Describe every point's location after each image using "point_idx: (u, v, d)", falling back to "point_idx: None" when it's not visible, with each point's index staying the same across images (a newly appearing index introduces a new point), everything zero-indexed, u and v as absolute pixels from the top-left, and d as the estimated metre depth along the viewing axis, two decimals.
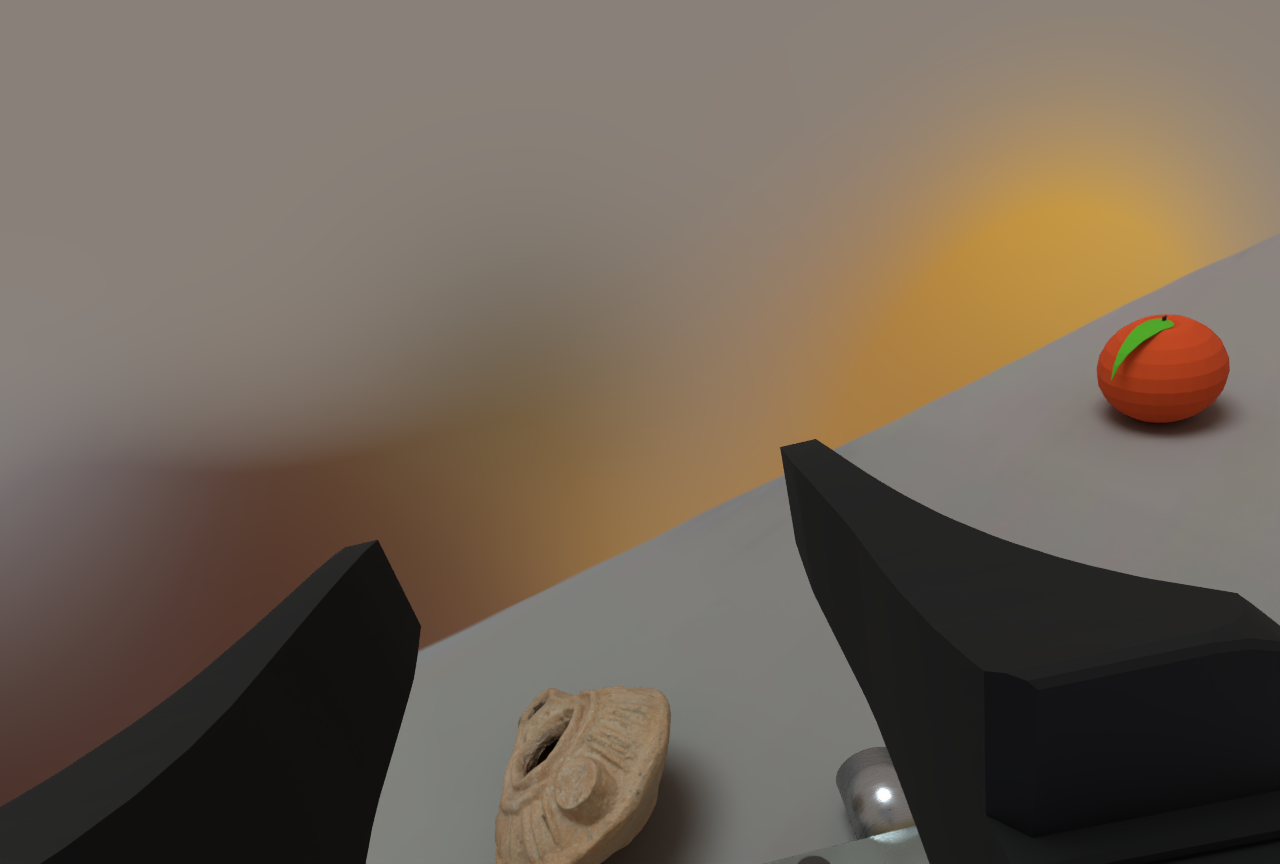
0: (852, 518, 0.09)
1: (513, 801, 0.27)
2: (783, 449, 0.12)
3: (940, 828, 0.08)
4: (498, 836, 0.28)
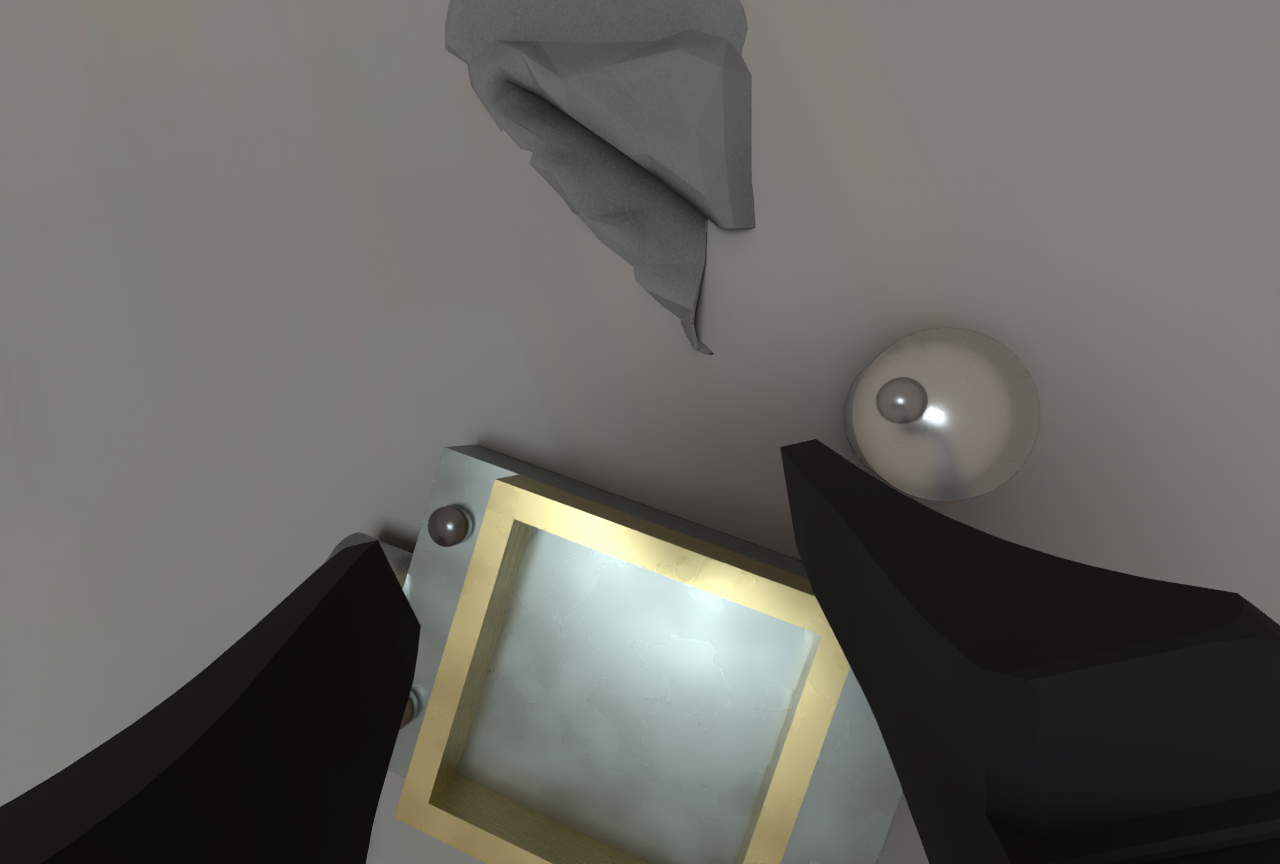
0: (852, 518, 0.09)
1: None
2: (783, 449, 0.12)
3: (940, 828, 0.08)
4: None
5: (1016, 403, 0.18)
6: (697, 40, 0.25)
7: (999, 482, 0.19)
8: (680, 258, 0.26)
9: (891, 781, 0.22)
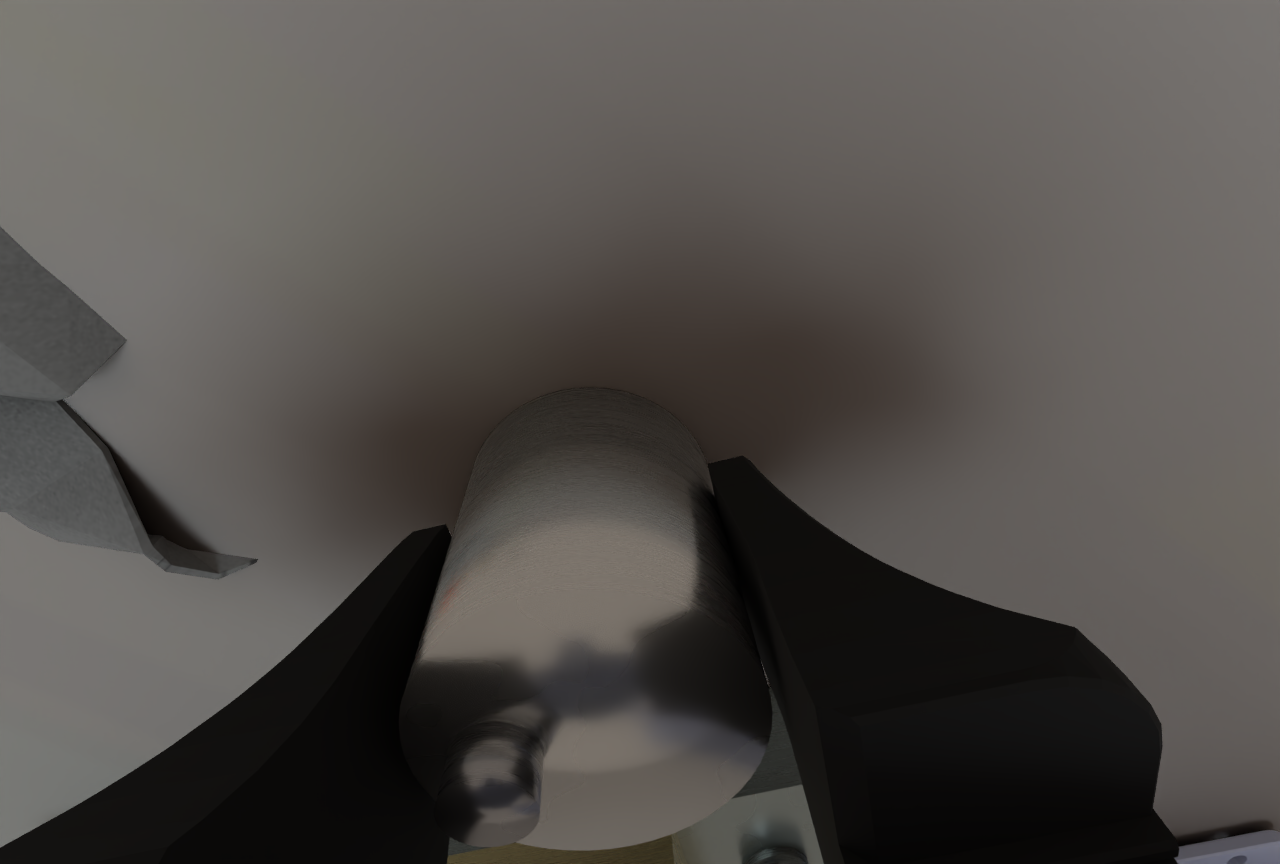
0: (754, 540, 0.09)
1: None
2: (709, 466, 0.12)
3: (826, 850, 0.08)
4: None
5: (697, 663, 0.08)
6: None
7: (749, 768, 0.09)
8: (56, 465, 0.13)
9: None
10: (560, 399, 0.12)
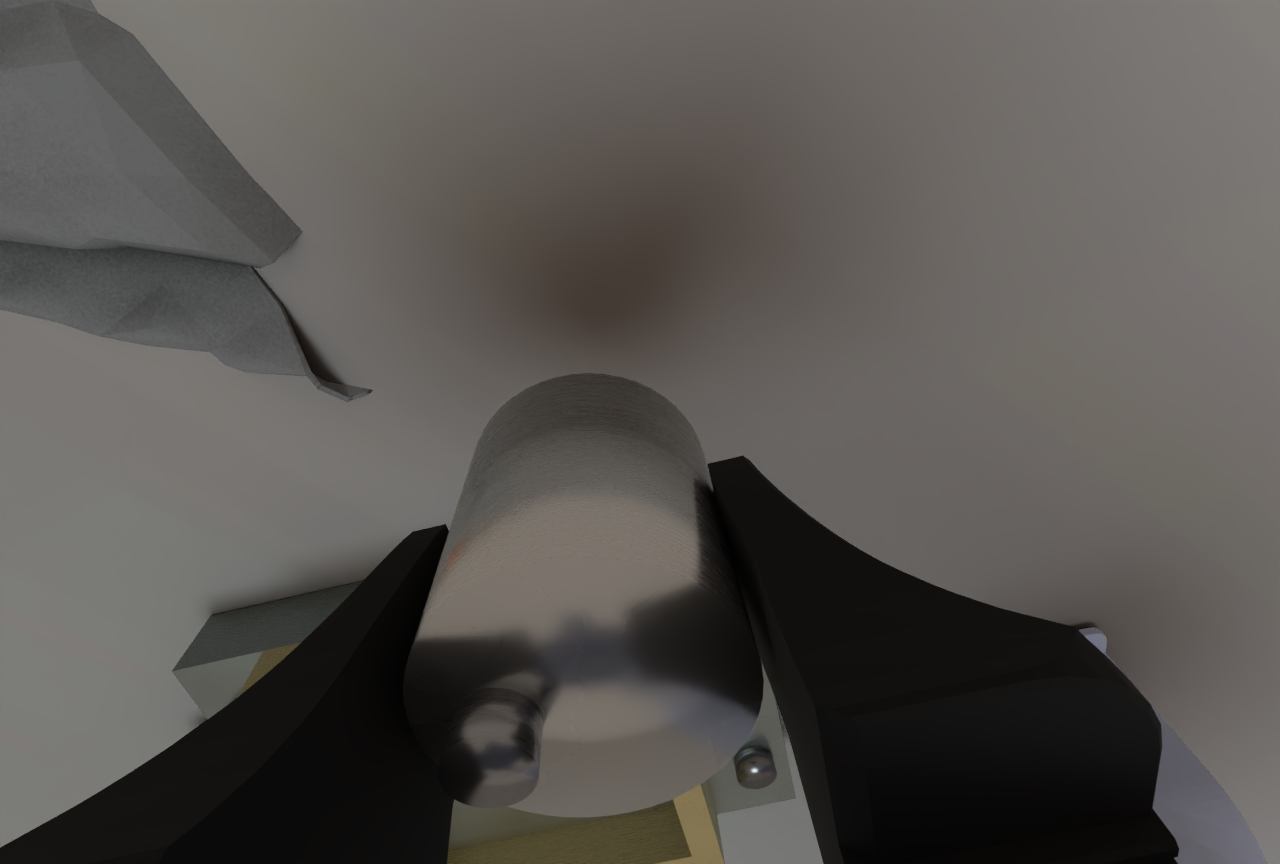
0: (754, 540, 0.09)
1: None
2: (709, 466, 0.12)
3: (826, 850, 0.08)
4: None
5: (690, 630, 0.09)
6: (15, 31, 0.16)
7: (742, 736, 0.10)
8: (250, 317, 0.19)
9: None
10: (558, 384, 0.13)
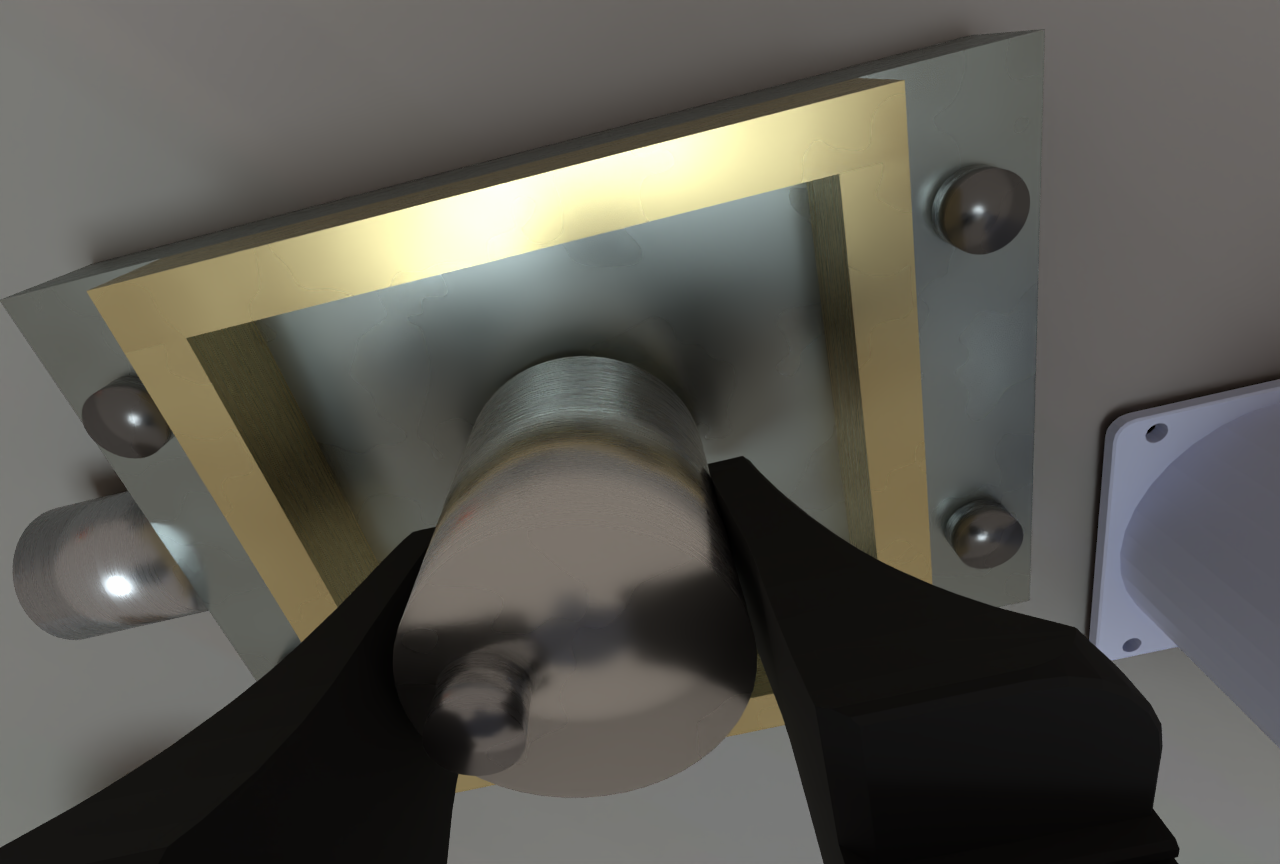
0: (754, 540, 0.09)
1: None
2: (708, 466, 0.12)
3: (826, 850, 0.08)
4: None
5: (692, 612, 0.09)
6: None
7: (727, 726, 0.10)
8: None
9: (1015, 333, 0.14)
10: (569, 363, 0.13)
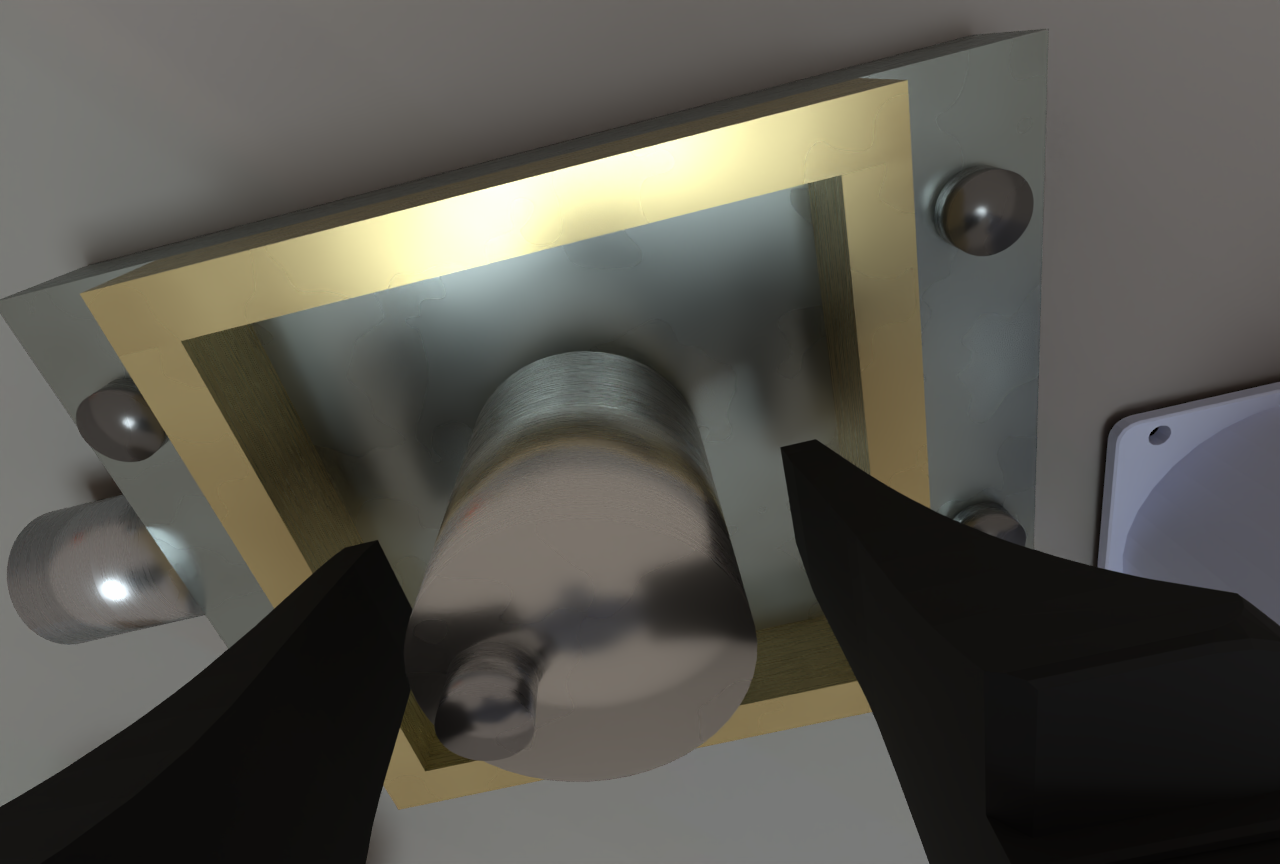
0: (852, 518, 0.09)
1: None
2: (783, 449, 0.12)
3: (940, 828, 0.08)
4: None
5: (694, 602, 0.09)
6: None
7: (728, 712, 0.10)
8: None
9: (1018, 335, 0.14)
10: (570, 358, 0.13)
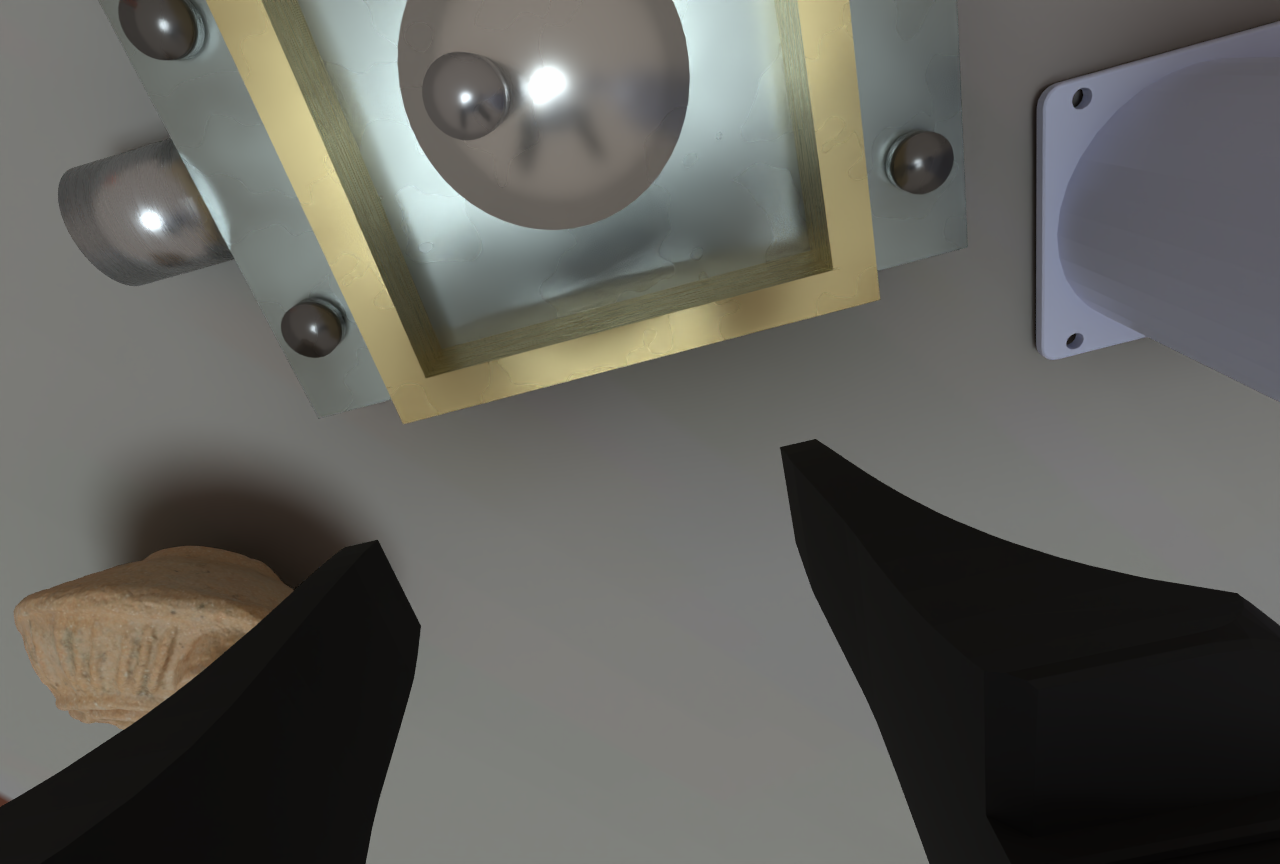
0: (852, 518, 0.09)
1: None
2: (783, 449, 0.12)
3: (940, 828, 0.08)
4: None
5: (634, 8, 0.11)
6: None
7: (670, 147, 0.12)
8: None
9: None
10: None
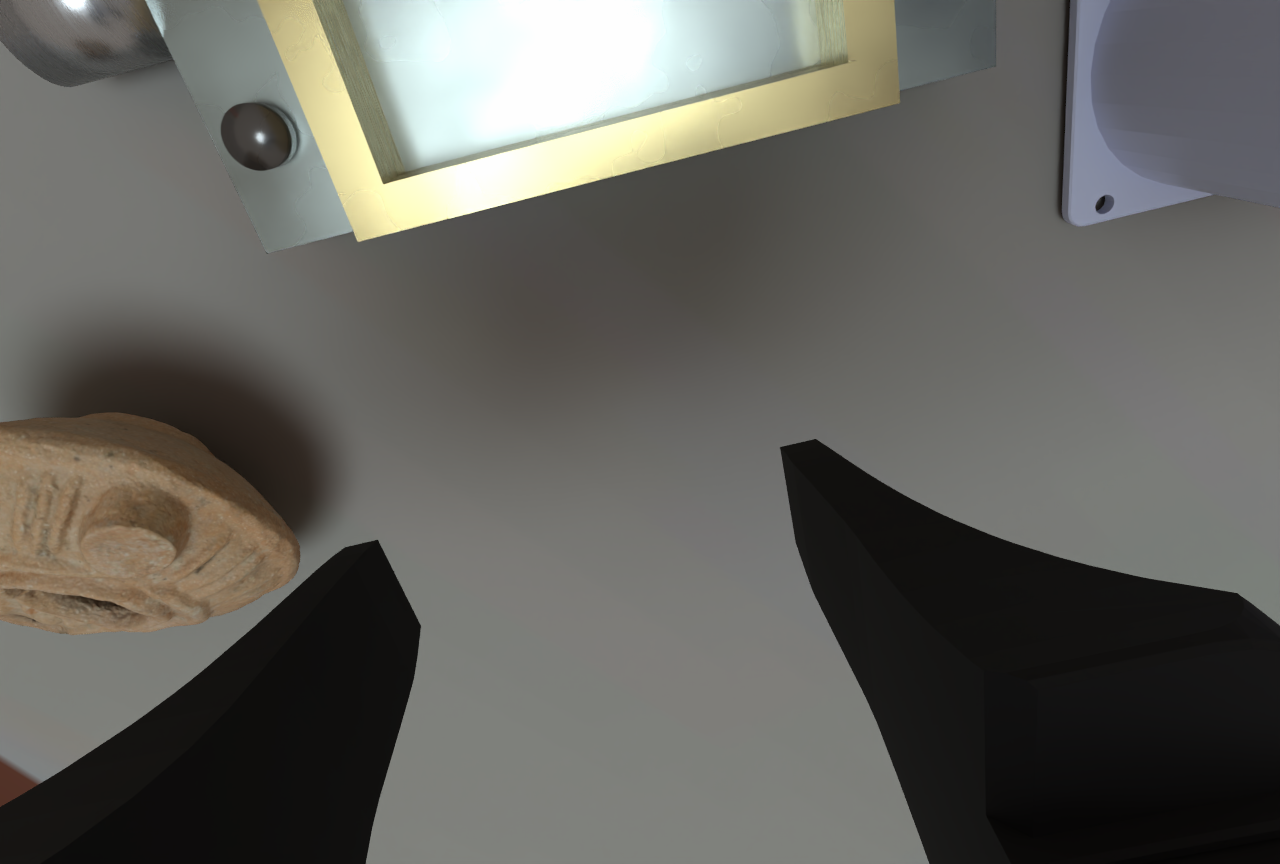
0: (852, 518, 0.09)
1: (190, 615, 0.19)
2: (782, 449, 0.12)
3: (940, 828, 0.08)
4: (242, 604, 0.21)
5: None
6: None
7: None
8: None
9: None
10: None
